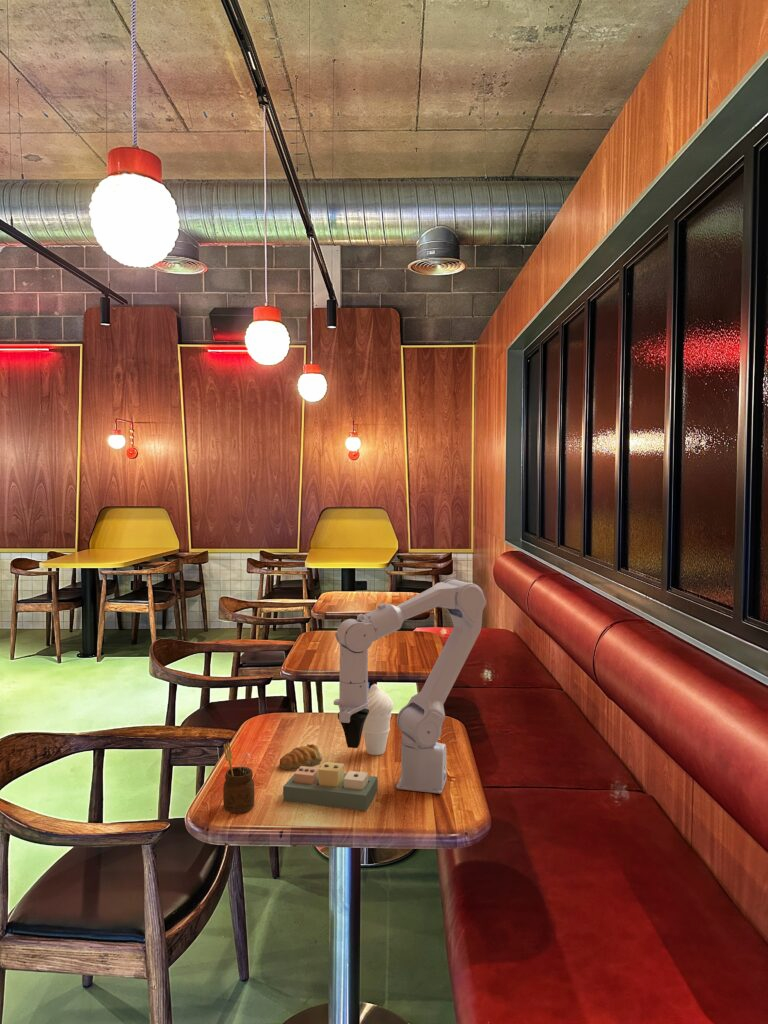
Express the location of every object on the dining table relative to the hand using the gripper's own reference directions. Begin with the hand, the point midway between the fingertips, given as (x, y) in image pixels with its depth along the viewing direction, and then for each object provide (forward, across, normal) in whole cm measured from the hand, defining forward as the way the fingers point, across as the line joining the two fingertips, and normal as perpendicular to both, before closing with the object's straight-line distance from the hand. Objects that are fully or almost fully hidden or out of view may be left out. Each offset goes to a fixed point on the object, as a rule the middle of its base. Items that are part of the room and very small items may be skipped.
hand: (353, 746), depth 139 cm
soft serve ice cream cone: (+10, -24, -1) cm, 26 cm away
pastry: (+10, -13, -15) cm, 23 cm away
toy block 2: (+8, +2, -4) cm, 10 cm away
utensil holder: (+10, +10, -20) cm, 25 cm away
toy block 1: (+10, +1, -9) cm, 14 cm away
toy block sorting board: (+10, +2, -4) cm, 11 cm away
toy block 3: (+10, +2, +1) cm, 10 cm away
